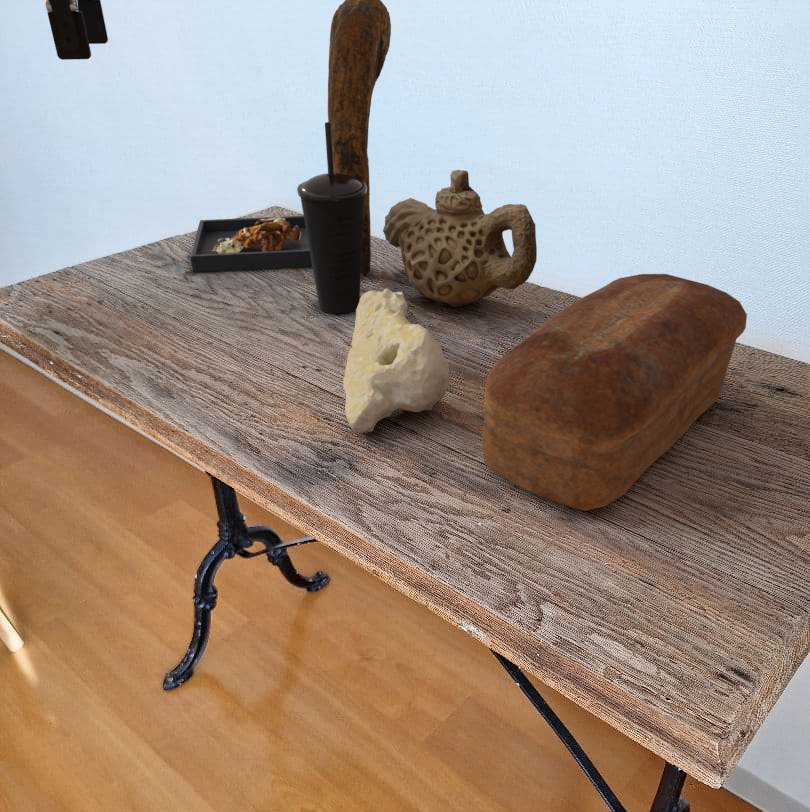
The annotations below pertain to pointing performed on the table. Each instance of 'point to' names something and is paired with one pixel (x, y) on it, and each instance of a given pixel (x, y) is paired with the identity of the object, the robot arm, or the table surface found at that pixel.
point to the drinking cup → (334, 234)
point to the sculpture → (356, 91)
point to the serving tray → (247, 257)
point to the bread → (608, 387)
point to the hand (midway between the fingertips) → (84, 50)
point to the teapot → (461, 244)
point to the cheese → (390, 363)
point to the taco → (260, 236)
